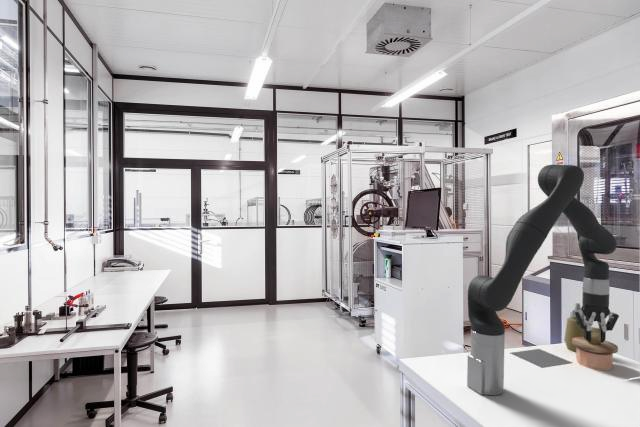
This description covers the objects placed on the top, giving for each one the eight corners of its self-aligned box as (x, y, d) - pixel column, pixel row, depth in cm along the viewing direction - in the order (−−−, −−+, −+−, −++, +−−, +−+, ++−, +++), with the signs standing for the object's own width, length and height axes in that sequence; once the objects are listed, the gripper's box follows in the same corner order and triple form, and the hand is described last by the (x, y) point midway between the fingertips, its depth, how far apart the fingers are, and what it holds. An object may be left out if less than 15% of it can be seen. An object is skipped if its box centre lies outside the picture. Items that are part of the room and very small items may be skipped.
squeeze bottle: (564, 352, 150) (566, 304, 149) (563, 345, 157) (564, 300, 156) (590, 356, 146) (592, 307, 145) (588, 349, 153) (589, 302, 152)
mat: (541, 369, 134) (541, 367, 134) (509, 354, 147) (509, 352, 147) (572, 364, 138) (573, 362, 138) (538, 350, 152) (538, 348, 152)
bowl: (597, 373, 131) (598, 356, 131) (569, 361, 141) (570, 346, 141) (619, 369, 134) (619, 353, 134) (590, 358, 144) (591, 343, 144)
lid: (599, 355, 129) (599, 336, 129) (563, 342, 142) (563, 324, 141) (627, 351, 133) (627, 332, 133) (589, 338, 146) (590, 321, 146)
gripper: (577, 292, 135) (576, 343, 135) (625, 294, 132) (623, 346, 132) (568, 288, 142) (567, 336, 142) (613, 290, 139) (612, 339, 140)
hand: (594, 341), depth 137 cm, fingers closed on lid, 3 cm apart
